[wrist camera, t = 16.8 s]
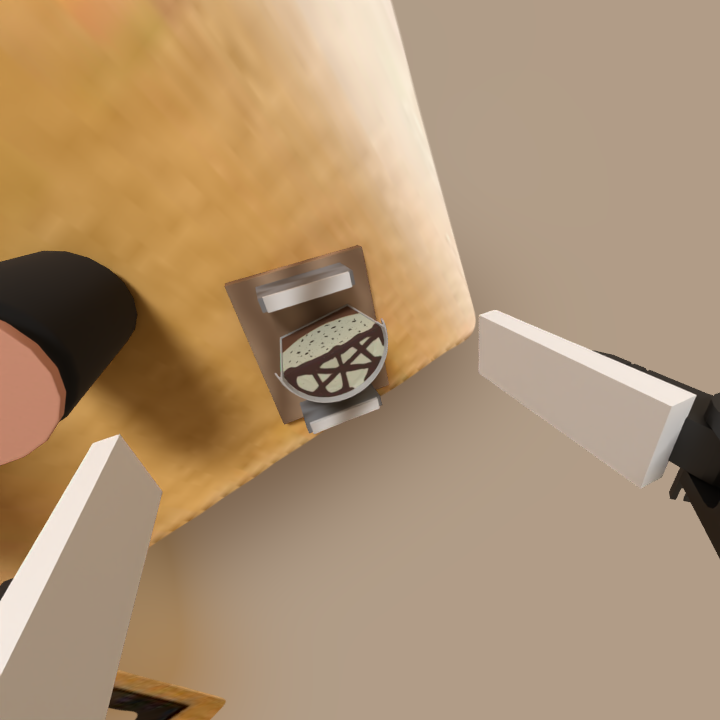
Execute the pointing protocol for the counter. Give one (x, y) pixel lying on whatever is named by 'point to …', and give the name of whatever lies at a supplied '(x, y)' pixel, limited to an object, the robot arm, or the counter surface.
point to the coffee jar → (54, 341)
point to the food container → (333, 355)
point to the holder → (295, 309)
